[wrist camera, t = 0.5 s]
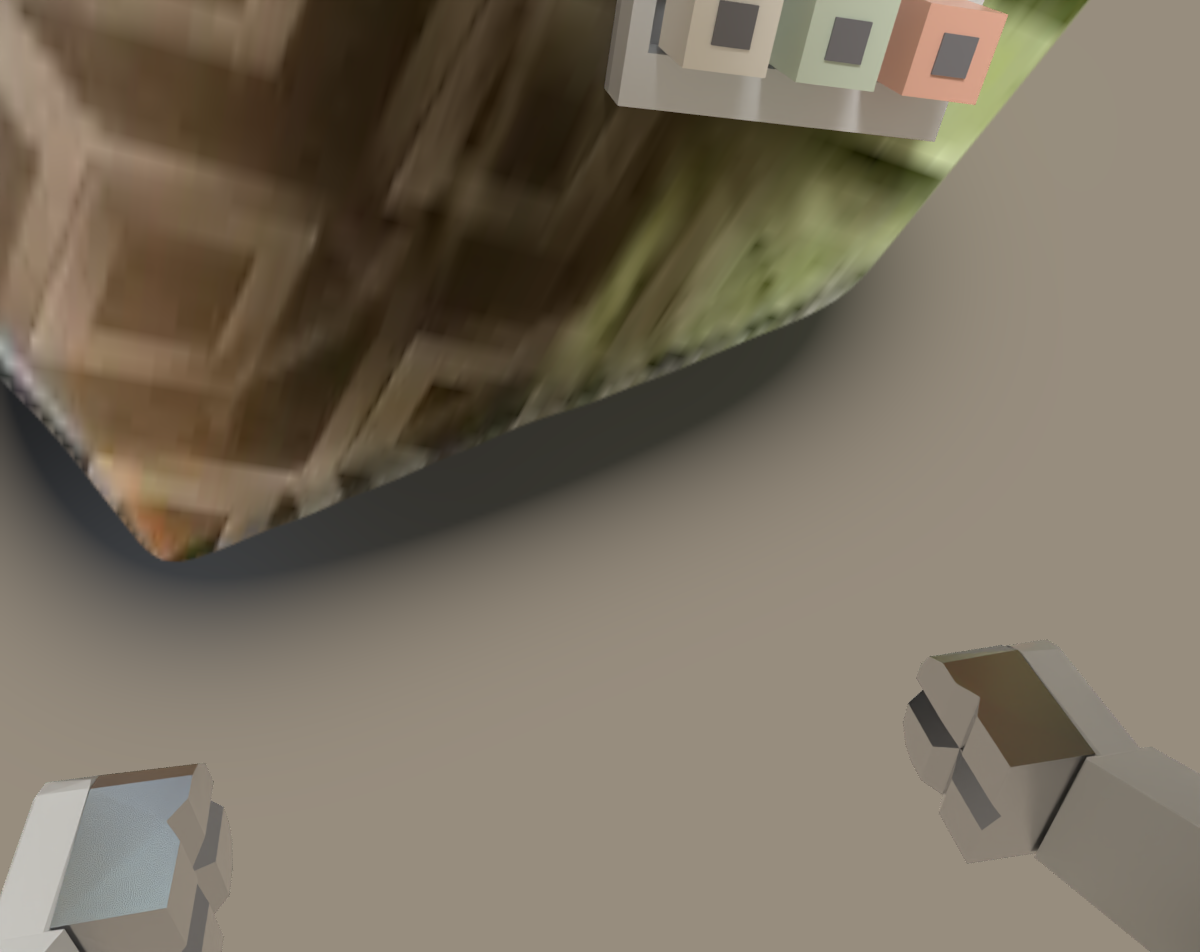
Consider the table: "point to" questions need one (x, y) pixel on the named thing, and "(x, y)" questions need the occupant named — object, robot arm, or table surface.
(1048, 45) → the table surface
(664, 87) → the grey piece
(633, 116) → the table surface
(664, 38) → the key
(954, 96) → the key
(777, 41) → the key
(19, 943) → the robot arm
